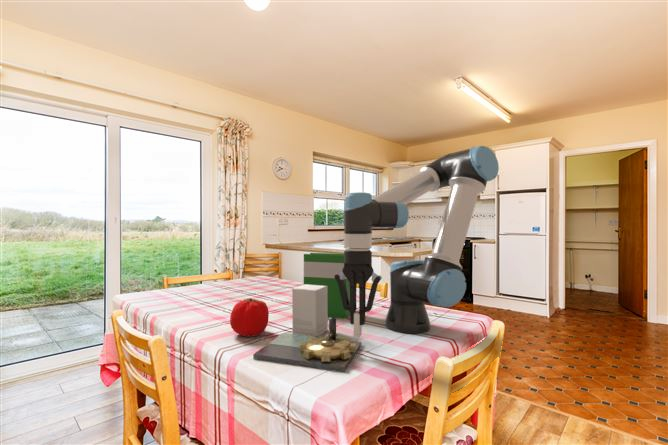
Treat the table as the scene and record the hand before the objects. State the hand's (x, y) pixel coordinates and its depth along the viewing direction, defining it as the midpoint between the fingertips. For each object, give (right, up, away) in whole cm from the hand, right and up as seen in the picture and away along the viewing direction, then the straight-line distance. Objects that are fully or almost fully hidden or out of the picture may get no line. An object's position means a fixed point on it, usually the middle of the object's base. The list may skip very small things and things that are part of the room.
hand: (357, 336), depth 88 cm
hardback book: (-9, -6, +42) cm, 43 cm away
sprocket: (-8, -3, -1) cm, 9 cm away
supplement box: (-14, -6, +19) cm, 24 cm away
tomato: (-34, -5, +17) cm, 38 cm away
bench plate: (-13, -5, +2) cm, 14 cm away
